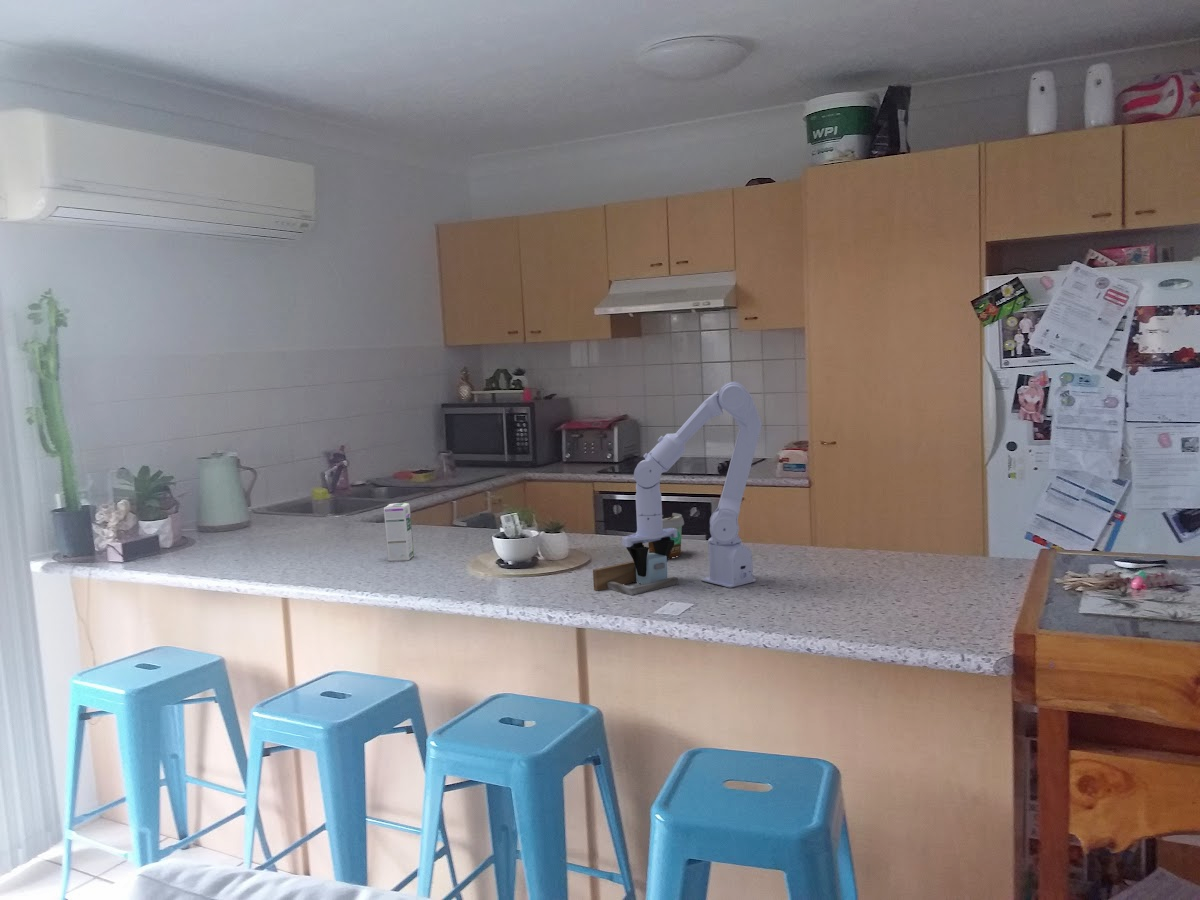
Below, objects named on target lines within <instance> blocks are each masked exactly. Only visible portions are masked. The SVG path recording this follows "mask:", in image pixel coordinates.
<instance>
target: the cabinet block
mask: <svg viewBox="0 0 1200 900" xmlns="http://www.w3.org/2000/svg"><path fill="white" fill-rule="evenodd" d="M664 579H668V561H667V556H664V555H660V554H655V553H649V552H648V554H647V560H646V576H645V577H642V576H638V574H637V570H636V582H637V583H636V582H635V583H636V584H639V583H641V584H640V585H642V584H647V583H651V582H655V581H659V580H664Z"/></svg>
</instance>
